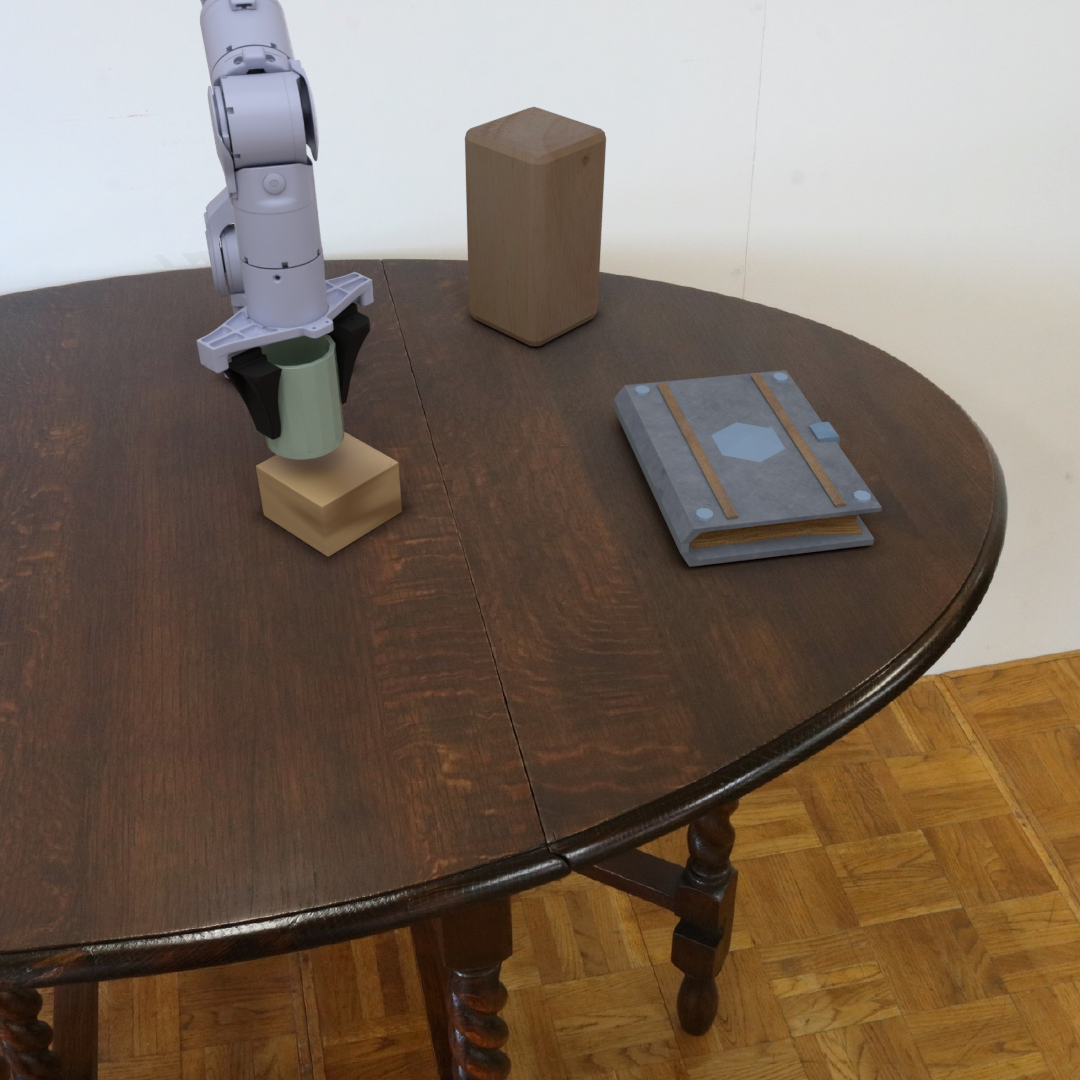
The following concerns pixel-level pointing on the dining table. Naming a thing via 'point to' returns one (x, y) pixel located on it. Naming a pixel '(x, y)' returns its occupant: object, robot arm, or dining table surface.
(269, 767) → the dining table surface
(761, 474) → the book
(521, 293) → the wooden block
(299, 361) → the cup
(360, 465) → the block
